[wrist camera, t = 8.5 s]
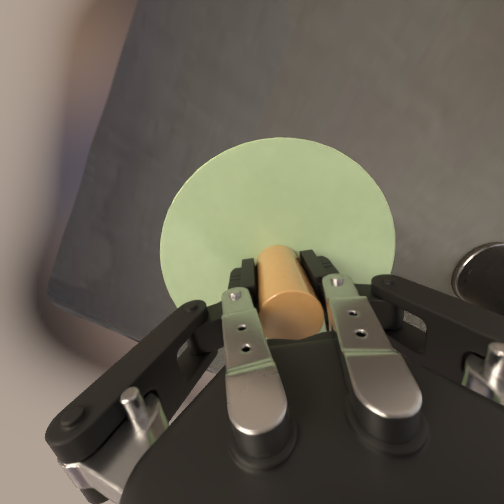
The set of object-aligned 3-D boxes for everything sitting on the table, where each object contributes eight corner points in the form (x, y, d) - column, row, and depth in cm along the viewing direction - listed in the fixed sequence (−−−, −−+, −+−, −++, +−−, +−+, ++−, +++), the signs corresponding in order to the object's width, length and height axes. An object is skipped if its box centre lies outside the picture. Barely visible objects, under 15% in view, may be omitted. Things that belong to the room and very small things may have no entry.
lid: (225, 84, 13) (202, 16, 7) (433, 214, 15) (558, 252, 9) (135, 297, 17) (71, 375, 11) (307, 369, 20) (333, 466, 14)
